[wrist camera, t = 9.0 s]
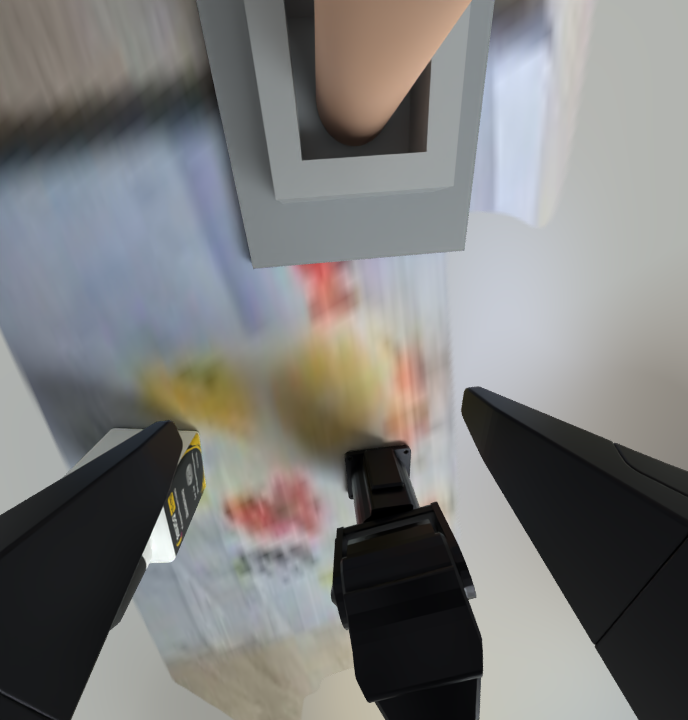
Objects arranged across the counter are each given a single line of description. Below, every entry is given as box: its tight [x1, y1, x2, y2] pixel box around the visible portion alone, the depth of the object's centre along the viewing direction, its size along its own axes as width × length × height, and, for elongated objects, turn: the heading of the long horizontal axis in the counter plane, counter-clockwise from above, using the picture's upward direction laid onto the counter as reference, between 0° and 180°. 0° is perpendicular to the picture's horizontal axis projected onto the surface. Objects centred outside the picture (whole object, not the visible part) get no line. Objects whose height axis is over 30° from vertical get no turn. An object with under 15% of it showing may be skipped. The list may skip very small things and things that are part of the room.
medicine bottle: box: [64, 428, 206, 630], centre depth 20 cm, size 7×7×12 cm
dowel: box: [314, 0, 472, 146], centre depth 9 cm, size 4×4×12 cm
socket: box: [196, 0, 495, 269], centre depth 13 cm, size 16×14×4 cm
